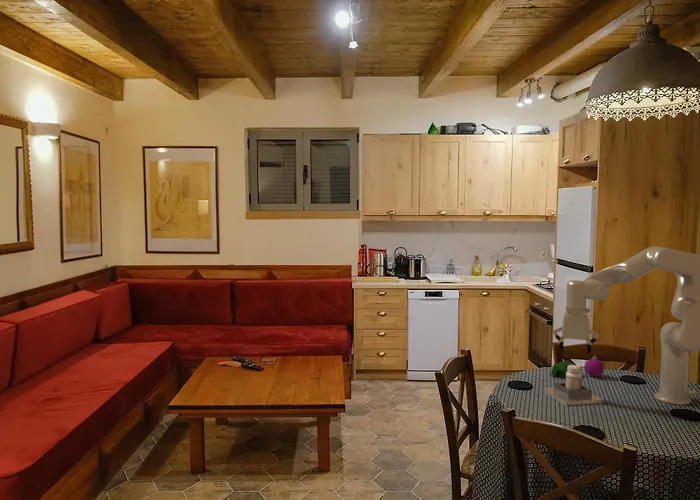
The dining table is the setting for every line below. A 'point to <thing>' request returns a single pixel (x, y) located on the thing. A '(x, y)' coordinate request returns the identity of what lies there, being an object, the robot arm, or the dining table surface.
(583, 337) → the robot arm
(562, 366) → the green lumpy block
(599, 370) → the christmas ornament
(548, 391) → the docking plate
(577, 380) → the pill bottle
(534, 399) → the dining table surface
